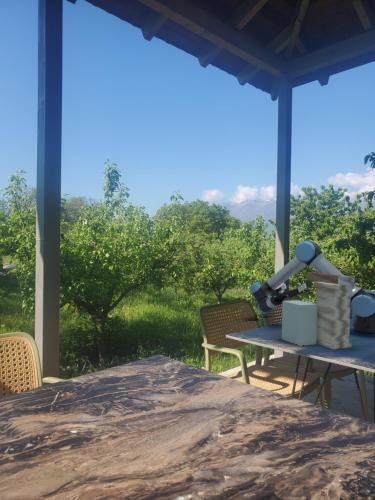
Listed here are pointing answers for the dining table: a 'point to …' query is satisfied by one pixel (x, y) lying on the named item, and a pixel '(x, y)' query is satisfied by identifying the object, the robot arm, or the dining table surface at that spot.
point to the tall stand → (333, 315)
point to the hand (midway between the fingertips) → (295, 285)
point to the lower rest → (299, 322)
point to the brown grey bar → (331, 278)
